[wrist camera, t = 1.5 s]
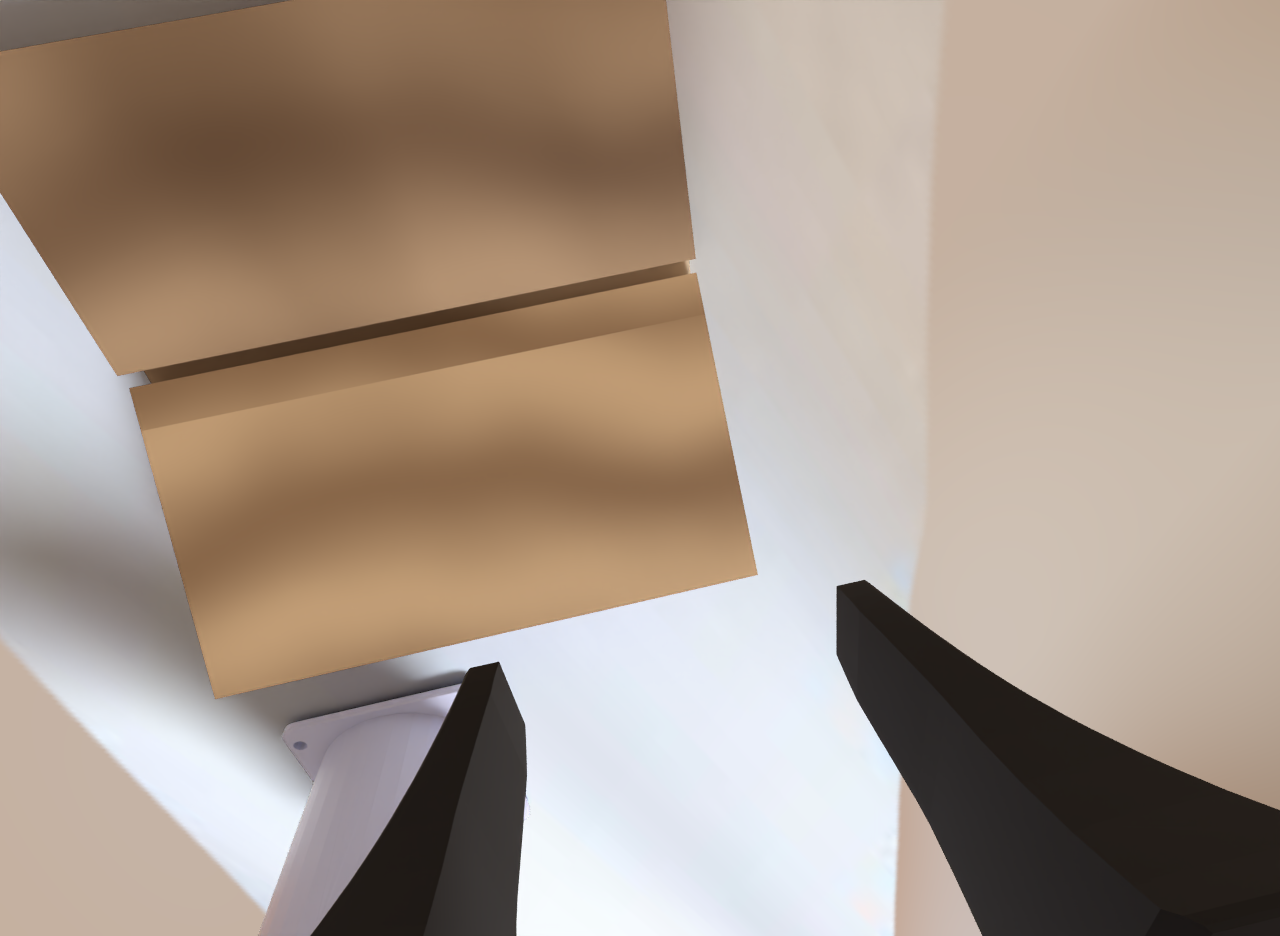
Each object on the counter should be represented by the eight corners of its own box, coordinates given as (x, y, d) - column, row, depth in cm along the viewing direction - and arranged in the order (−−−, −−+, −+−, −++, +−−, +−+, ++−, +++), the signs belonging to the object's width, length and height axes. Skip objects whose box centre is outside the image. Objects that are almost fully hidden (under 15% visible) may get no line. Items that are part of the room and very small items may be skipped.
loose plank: (746, 564, 19) (757, 574, 17) (245, 678, 18) (215, 699, 17) (689, 284, 18) (696, 272, 17) (167, 391, 17) (129, 388, 16)
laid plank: (692, 310, 19) (702, 321, 17) (181, 416, 18) (155, 435, 17) (649, -46, 14) (658, -65, 13) (-25, 73, 14) (-81, 65, 12)
